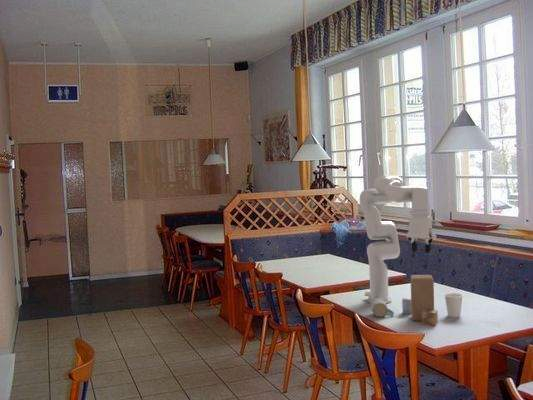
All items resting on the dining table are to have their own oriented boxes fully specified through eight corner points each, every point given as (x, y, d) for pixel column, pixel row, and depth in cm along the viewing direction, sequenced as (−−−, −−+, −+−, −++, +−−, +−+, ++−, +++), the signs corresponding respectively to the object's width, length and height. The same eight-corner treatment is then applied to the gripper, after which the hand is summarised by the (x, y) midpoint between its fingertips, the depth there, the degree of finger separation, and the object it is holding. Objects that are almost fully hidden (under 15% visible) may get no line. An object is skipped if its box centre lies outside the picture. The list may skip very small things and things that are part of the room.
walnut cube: (421, 325, 271) (421, 312, 270) (424, 321, 276) (424, 309, 276) (435, 326, 268) (435, 313, 268) (437, 322, 274) (437, 309, 273)
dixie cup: (441, 315, 287) (440, 294, 286) (455, 312, 290) (454, 292, 289) (453, 319, 279) (452, 297, 278) (467, 316, 282) (466, 295, 282)
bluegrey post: (400, 313, 293) (400, 299, 292) (406, 311, 296) (405, 297, 296) (409, 315, 289) (409, 300, 289) (415, 312, 293) (414, 298, 292)
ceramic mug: (372, 317, 286) (372, 302, 286) (370, 313, 295) (370, 298, 294) (395, 317, 286) (395, 301, 285) (392, 313, 294) (392, 297, 294)
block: (434, 321, 275) (433, 278, 274) (412, 321, 277) (411, 278, 276) (433, 316, 285) (432, 274, 284) (411, 315, 287) (410, 274, 286)
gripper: (399, 213, 282) (400, 251, 283) (433, 214, 270) (434, 254, 271) (408, 212, 287) (409, 249, 288) (441, 213, 275) (442, 252, 276)
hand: (421, 251), depth 280 cm, fingers open, 6 cm apart
